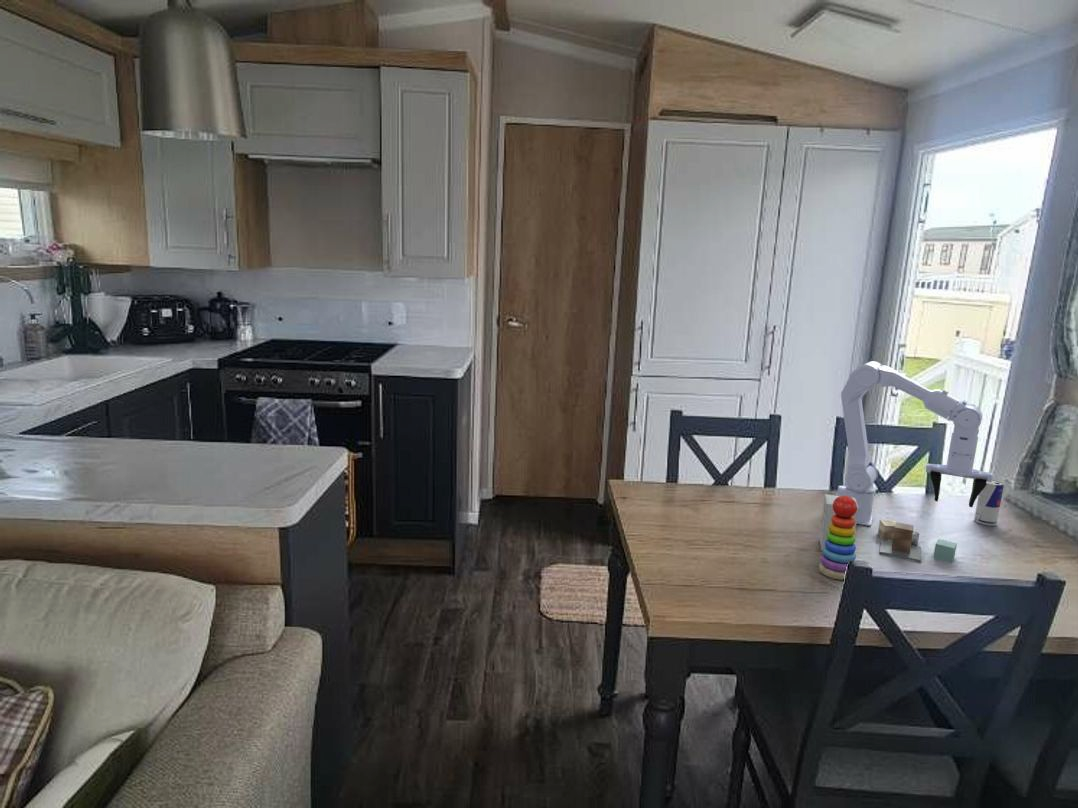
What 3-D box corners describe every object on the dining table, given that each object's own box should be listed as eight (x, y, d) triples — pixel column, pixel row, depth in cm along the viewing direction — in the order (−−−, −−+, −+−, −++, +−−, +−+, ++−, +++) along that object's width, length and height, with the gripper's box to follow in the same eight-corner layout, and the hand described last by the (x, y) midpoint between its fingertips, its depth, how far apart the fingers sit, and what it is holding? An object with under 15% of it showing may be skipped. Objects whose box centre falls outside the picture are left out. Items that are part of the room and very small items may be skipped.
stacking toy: (862, 576, 157) (873, 499, 152) (841, 584, 152) (852, 505, 148) (831, 563, 163) (841, 488, 159) (811, 570, 159) (820, 494, 155)
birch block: (882, 539, 178) (884, 525, 177) (877, 533, 182) (879, 519, 181) (899, 541, 177) (901, 526, 176) (893, 535, 181) (895, 521, 180)
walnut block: (891, 549, 170) (895, 527, 169) (892, 544, 174) (895, 522, 172) (909, 553, 168) (913, 530, 167) (909, 547, 172) (913, 525, 170)
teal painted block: (933, 558, 167) (935, 543, 167) (935, 553, 171) (938, 538, 170) (951, 563, 165) (954, 548, 164) (954, 558, 168) (956, 543, 167)
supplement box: (849, 544, 174) (856, 497, 172) (852, 555, 167) (859, 507, 165) (818, 539, 177) (824, 493, 174) (820, 550, 170) (826, 503, 167)
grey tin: (901, 544, 175) (903, 533, 175) (901, 539, 178) (903, 528, 178) (917, 547, 174) (919, 536, 173) (917, 542, 177) (919, 531, 176)
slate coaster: (879, 553, 169) (879, 551, 169) (881, 541, 177) (881, 538, 177) (920, 562, 165) (921, 560, 165) (920, 549, 173) (921, 546, 173)
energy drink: (1000, 527, 189) (1007, 486, 186) (978, 525, 190) (986, 484, 187) (991, 519, 194) (999, 479, 191) (970, 517, 195) (978, 478, 192)
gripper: (929, 451, 173) (921, 502, 176) (997, 461, 166) (987, 513, 169) (929, 445, 179) (921, 494, 182) (994, 454, 172) (985, 505, 175)
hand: (953, 503), depth 176 cm, fingers open, 7 cm apart
